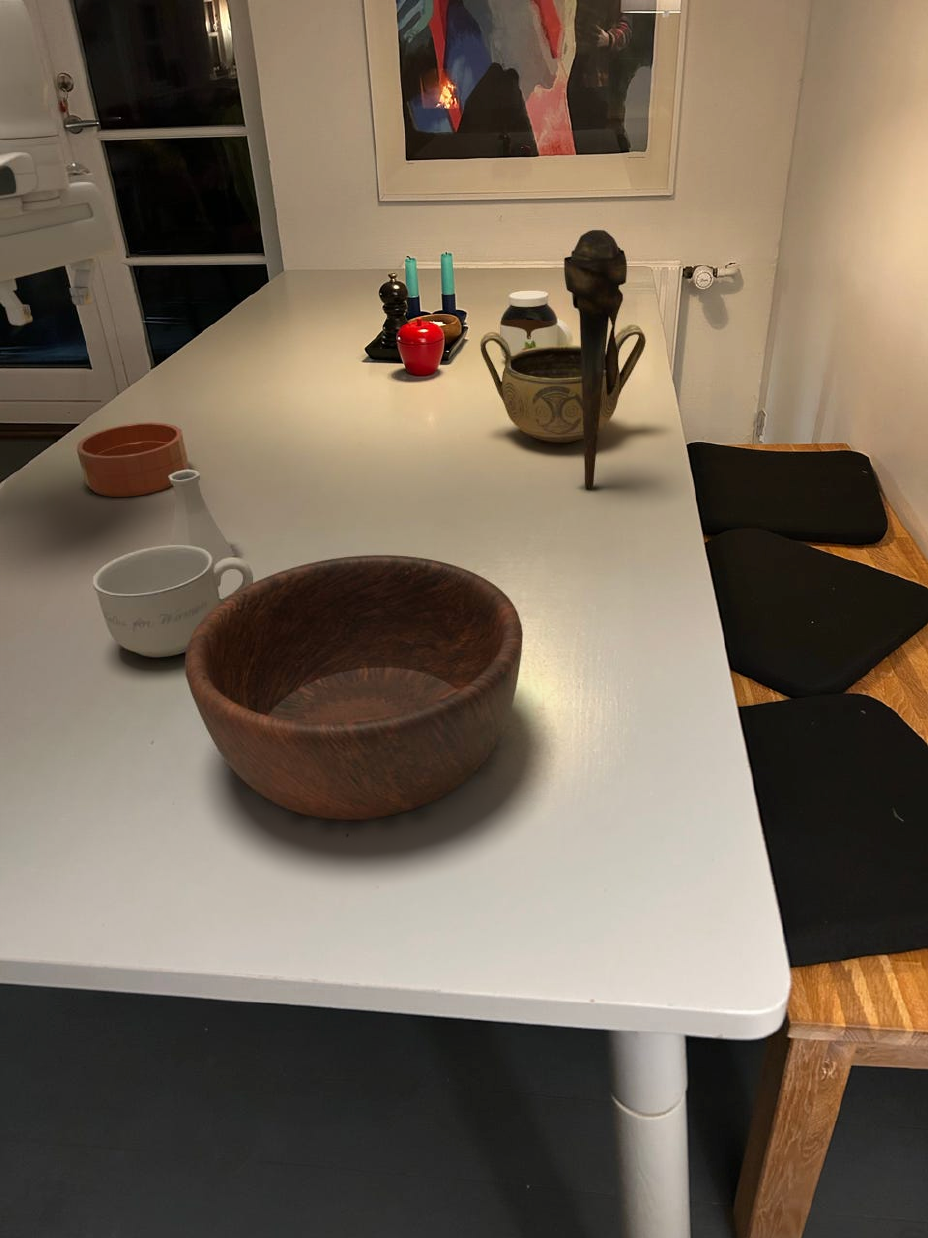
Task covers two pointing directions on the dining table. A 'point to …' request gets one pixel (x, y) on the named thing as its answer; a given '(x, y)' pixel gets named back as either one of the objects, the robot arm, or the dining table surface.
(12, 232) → the robot arm
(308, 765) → the wooden bowl
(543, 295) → the spread jar
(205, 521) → the flask
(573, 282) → the decorative torch
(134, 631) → the teacup
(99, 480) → the terracotta bowl
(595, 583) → the dining table surface
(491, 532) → the dining table surface
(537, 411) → the ceramic bowl
